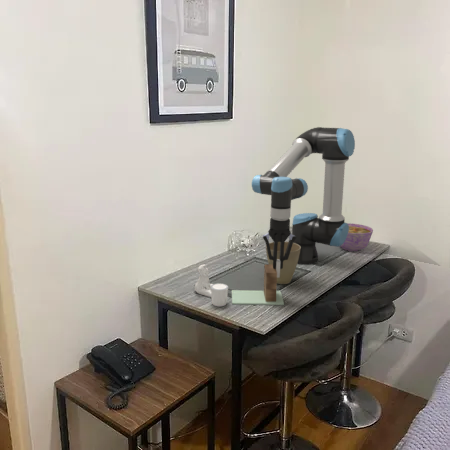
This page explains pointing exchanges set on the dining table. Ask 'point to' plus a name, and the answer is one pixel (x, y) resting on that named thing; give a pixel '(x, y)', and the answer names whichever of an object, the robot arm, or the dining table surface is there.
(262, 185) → the robot arm
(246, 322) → the dining table surface
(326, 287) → the dining table surface
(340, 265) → the dining table surface
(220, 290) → the white mug
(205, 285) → the seated beast figurine
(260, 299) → the mat
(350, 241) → the bowl of food
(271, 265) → the walnut slab
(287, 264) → the plant pot
